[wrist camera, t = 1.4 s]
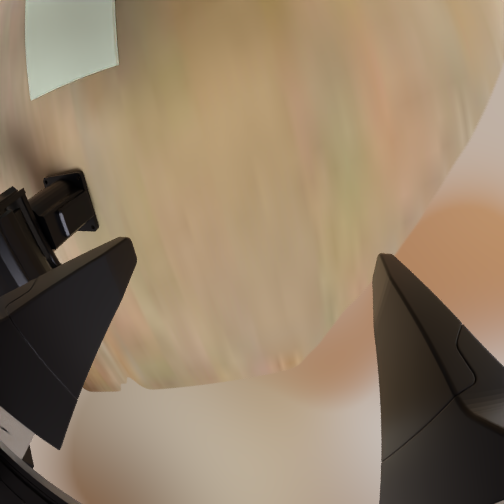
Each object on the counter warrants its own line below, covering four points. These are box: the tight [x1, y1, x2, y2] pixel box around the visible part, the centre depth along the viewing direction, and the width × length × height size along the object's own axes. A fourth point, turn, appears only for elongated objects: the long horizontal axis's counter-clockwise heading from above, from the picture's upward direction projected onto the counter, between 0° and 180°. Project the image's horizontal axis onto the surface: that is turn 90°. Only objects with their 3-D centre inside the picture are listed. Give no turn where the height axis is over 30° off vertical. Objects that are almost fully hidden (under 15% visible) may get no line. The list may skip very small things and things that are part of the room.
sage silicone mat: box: [25, 0, 119, 101], centre depth 13 cm, size 12×18×1 cm, turn 3°
